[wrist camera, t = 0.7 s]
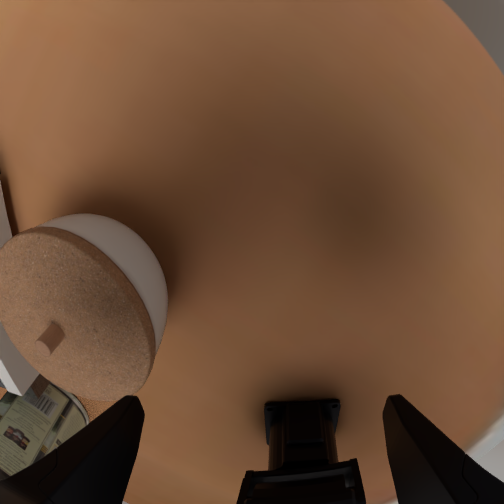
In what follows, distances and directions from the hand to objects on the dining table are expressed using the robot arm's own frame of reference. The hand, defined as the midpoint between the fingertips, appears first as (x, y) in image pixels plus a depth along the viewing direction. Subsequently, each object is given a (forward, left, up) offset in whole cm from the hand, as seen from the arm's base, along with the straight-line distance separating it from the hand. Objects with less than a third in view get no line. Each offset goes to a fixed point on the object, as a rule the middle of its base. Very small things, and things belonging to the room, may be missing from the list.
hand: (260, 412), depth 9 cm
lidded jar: (0, +11, -12) cm, 16 cm away
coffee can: (-17, +26, -12) cm, 33 cm away
